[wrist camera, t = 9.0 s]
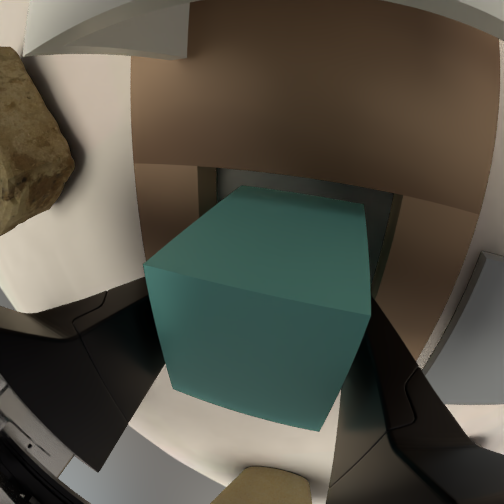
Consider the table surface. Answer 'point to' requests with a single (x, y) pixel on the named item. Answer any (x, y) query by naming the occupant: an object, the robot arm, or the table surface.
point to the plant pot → (266, 488)
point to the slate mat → (473, 341)
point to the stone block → (27, 147)
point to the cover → (176, 25)
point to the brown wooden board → (328, 127)
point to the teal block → (264, 303)
